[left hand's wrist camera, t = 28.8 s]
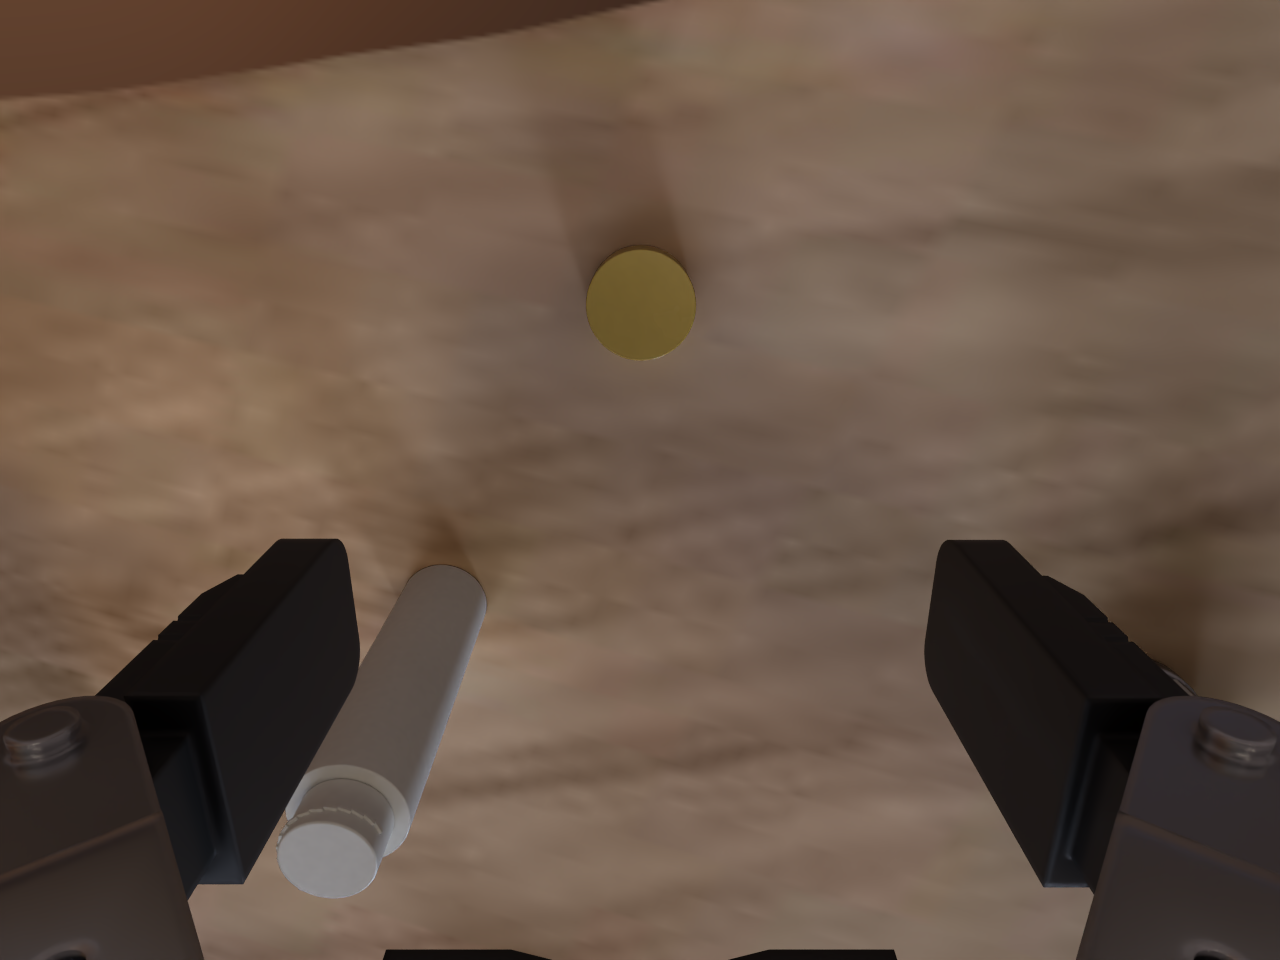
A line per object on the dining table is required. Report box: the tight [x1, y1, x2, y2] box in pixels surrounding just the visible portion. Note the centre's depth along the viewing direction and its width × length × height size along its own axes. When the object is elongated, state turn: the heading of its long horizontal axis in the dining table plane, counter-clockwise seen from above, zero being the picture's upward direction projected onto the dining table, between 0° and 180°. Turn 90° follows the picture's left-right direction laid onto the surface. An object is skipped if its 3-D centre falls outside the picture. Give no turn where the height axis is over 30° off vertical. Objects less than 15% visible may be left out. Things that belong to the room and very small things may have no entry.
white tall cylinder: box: [276, 565, 487, 898], centre depth 34 cm, size 4×4×17 cm
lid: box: [586, 245, 696, 361], centre depth 36 cm, size 5×5×2 cm
